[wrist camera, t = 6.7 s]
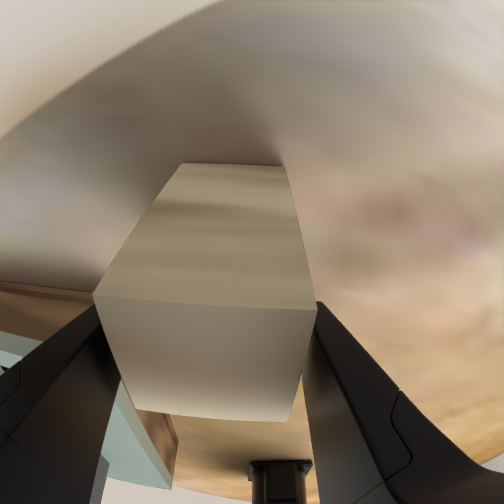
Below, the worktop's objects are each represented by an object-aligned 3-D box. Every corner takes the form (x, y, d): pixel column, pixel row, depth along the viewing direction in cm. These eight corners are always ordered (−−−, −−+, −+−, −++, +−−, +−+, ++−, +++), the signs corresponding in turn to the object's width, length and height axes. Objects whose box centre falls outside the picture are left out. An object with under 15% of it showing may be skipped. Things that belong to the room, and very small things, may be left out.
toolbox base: (178, 441, 25) (172, 478, 22) (52, 414, 25) (41, 444, 22) (134, 296, 16) (110, 354, 12) (-32, 275, 16) (-62, 311, 12)
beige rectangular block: (276, 254, 14) (287, 421, 7) (186, 250, 14) (135, 408, 7) (285, 167, 12) (317, 310, 5) (181, 163, 12) (92, 294, 5)
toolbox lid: (172, 478, 22) (166, 529, 18) (41, 444, 22) (27, 486, 18) (110, 354, 12) (73, 458, 8) (-62, 311, 12) (-101, 366, 8)
